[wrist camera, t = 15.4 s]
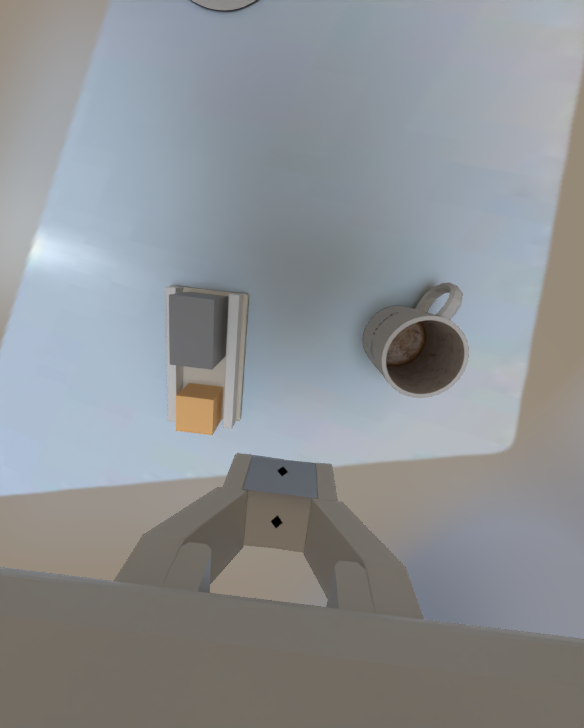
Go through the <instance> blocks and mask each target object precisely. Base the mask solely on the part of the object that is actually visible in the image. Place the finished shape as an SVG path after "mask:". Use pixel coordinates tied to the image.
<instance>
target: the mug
mask: <svg viewBox="0 0 584 728" xmlns="http://www.w3.org/2000/svg"><path fill="white" fill-rule="evenodd" d="M444 293H450V295H449V298H448V300H447V302H446V303H445V305H444V306H443V308H442V309H441V310H440V311H439V313H438V314H436V315H433V314H430V313H427V311H428V309H429V308H430V306H431V305H432V303H433V302H434V301H435V300H436V299H437V298H438V297H439V296H441V295H442V294H444ZM462 296H463V294H462V292H461V290H460V289H459V288H458V286H456V285H453V284H451V283H442V284H440V285H437V286H435V287H433V288H432V289H431V290H429V291H428V292H427V293H426V294H425V295H424V296H423V297H422V299H421V300H420V302H419V303H418V305H417V307H416V308H415V309H413V308H410V307H406V306H392V307H388V308H385V309H383V310H381V311H379V312H378V313H377V314H375V315H374V316H373V317H372V318H371V320H370V321H369V322H368V324H367V326H366V328H365V331H364V334H363V346H364V349H365V352H366V354H367V356H368V357H369V359H370V360H371V361H372V362H373V364H374V365H375V366H376V368H377V369H378V370H379V371H380V373H381V374H382V375H383V376H384V378H385V379H386V380H387V382H388V383H389V384H390V385H391V386H392V387H393V388H394V389H395V390H397V391H398V392H399V393H401V394H404V395H406V396H410V397H414V398H425V397H432V396H435V395H438V394H440V393H442V392H444V391H446V390H448V389H449V388H450V387H452V386H453V385H454V384H455V383H456V382H457V381H458V380H459V379H460V377H461V376H462V374H463V373H464V371H465V368H466V366H467V363H468V358H469V346H468V341H467V339H466V337H465V334H464V333H463V331H462V330H461V329H460V328H459V326H457V325H456V324H455V323H453V322H452V321H450V319H451V318H452V317H453V316H454V314H455V313H456V312H457V310H458V309H459V307H460V306H461V302H462Z"/></svg>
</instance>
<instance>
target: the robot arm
mask: <svg viewBox="0 0 584 728" xmlns="http://www.w3.org/2000/svg"><path fill="white" fill-rule="evenodd" d="M192 1H194V2H195V3H197V4H199V5H201V6H204V7H207V8H210V9H215V10H233V9H238V8H241V7H244V6H246V5H249V4H250V3H252V2H254V1H255V0H192ZM243 545H247V546H257V547H269V548H277V549H283V550H290V551H297V552H303V553H304V556H305V558H306V560H307V561H308V563H309V565H310V567H311V569H312V571H313V573H314V575H315V576H316V578H317V580H318V582H319V584H320V586H321V587H322V589H323V591H324V593H325V595H326V597H327V599H328V602H327V607H321V606H313V605H304V604H296V603H289V602H280V601H272V600H264V599H256V598H248V597H240V596H232V595H223V594H215V593H210V584H211V583H212V582H213V581H214V580H215V579H216V577H217V576H218V575H219V574H220V573H221V572H222V571H223V569H224V568H225V567H226V566H227V565H228V564H229V563H230V562H231V560H232V559H233V558H234V557H235V556H236V555H237V554H238V552H239V551H240V550H241V549H242V548H243ZM0 728H584V639H580V638H572V637H564V636H556V635H548V634H540V633H532V632H524V631H516V630H507V629H499V628H491V627H483V626H474V625H466V624H458V623H449V622H441V621H433V620H425V619H424V618H423V615H422V613H421V610H420V607H419V604H418V601H417V598H416V596H415V592H414V590H413V587H412V584H411V581H410V578H409V575H408V573H407V570H406V567H405V566H404V565H403V564H402V563H401V562H400V561H399V560H398V559H397V558H396V557H395V556H394V555H393V554H392V553H391V551H389V549H388V548H386V546H385V545H384V544H383V543H382V542H381V541H380V540H379V539H378V538H377V537H376V536H375V535H374V534H373V533H372V532H371V531H370V530H369V529H368V528H367V527H366V526H365V525H364V524H363V522H361V521H360V519H359V518H358V517H357V516H356V515H355V514H354V513H353V512H352V511H351V510H350V509H349V508H348V507H347V506H346V505H345V504H344V503H343V502H339V501H338V499H337V493H336V486H335V480H334V473H333V467H332V465H331V464H326V463H311V462H301V461H291V460H284V459H278V458H271V457H264V456H257V455H250V454H241V453H237V454H236V455H235V456H234V459H233V462H232V464H231V467H230V469H229V472H228V474H227V477H226V480H225V482H224V485H223V487H217V488H215V489H213V490H212V491H210V492H209V493H207V494H206V495H204V496H203V497H201V498H199V499H198V500H196V501H195V502H193V503H192V504H190V505H189V506H187V507H185V508H184V509H182V510H181V511H179V512H178V513H176V514H174V515H173V516H171V517H170V518H168V519H167V520H165V521H164V522H162V523H160V524H159V525H157V526H156V527H154V528H153V529H151V530H149V531H148V532H147V533H145V534H143V535H142V537H141V539H140V540H139V542H138V543H137V545H136V547H135V548H134V550H133V551H132V553H131V554H130V556H129V558H128V559H127V561H126V562H125V564H124V565H123V567H122V569H121V570H120V572H119V573H118V575H117V577H116V578H115V580H114V581H109V580H101V579H93V578H85V577H77V576H69V575H61V574H53V573H45V572H36V571H27V570H20V569H12V568H4V567H0Z"/></svg>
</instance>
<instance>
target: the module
mask: <svg viewBox="0 0 584 728" xmlns="http://www.w3.org/2000/svg"><path fill="white" fill-rule="evenodd" d="M227 317H228V296H222V295H214V294H205V293H197V292H184V293H176V294H169V351H170V365H177V366H185V367H193V368H202V369H210V370H213V369H214V367H215V366H216V365H217V364H218V363H219V362H220V361H221V360H222V359H223V358H224V357H225V356H226V338H227Z"/></svg>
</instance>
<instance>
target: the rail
mask: <svg viewBox="0 0 584 728" xmlns="http://www.w3.org/2000/svg"><path fill="white" fill-rule="evenodd" d="M184 292H197V293H205V294H214V295H222V296H228V317H227V338H226V356H225V357H224V358H223V359H222V360H221V361H220V362H219V363H218V364H217V365H216V366H215V367H214V369H213V370H210V369H202V368H193V367H185V366H177V365H170V351H169V294H176V293H184ZM248 303H249V294H243V293H234V292H226V291H217V290H208V289H200V288H191V287H183V286H174V285H172V286H170V287H166V347H167V411H168V421H170V422H176V431H183V432H191V433H199V434H208V435H213V433H214V431H215V430H216V428H217V426H218V424H219V423H220V421H221V419H223V428H229V429H232V427H233V425H234V423H235V421H240V419H241V409H242V394H243V379H244V363H245V348H246V333H247V318H248Z"/></svg>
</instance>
